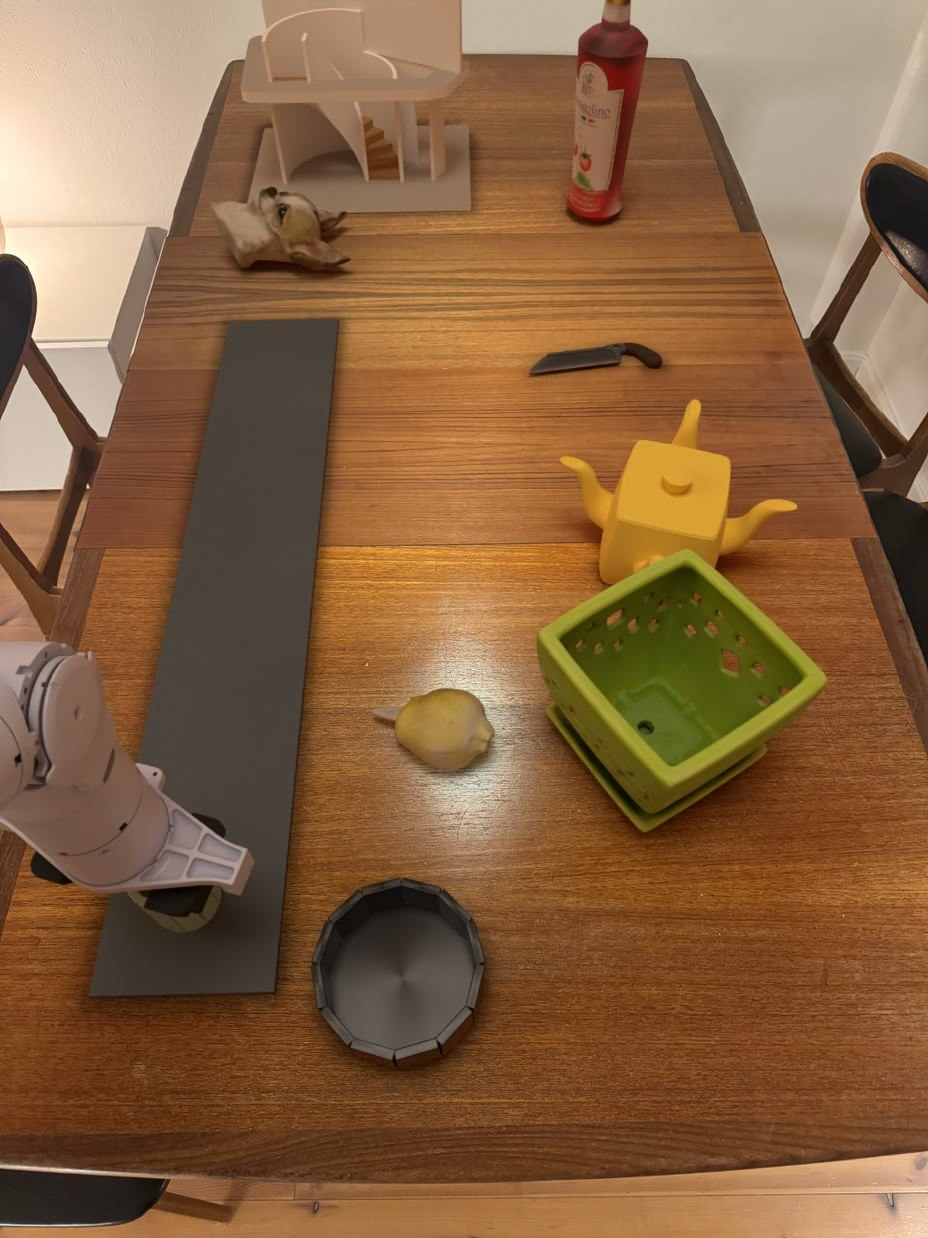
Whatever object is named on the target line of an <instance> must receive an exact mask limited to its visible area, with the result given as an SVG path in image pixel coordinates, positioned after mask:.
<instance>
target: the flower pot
mask: <svg viewBox="0 0 928 1238" xmlns="http://www.w3.org/2000/svg"><path fill="white" fill-rule="evenodd" d="M695 593H697V594H698V595H699V596H700V597H701V598H700V599H701V600H700V601H699V600H698V601H697V600H696V599H695V598H694V595H695ZM682 600H684V601H685V602H682ZM661 601H663V602H662V604H661V605H660V603H661ZM684 604H685V605H684ZM618 612H620V616H619V617H618V618H616V619H614V620H613V621H612V622H610V623H609V624H608V619H609V618H610V617H611V616H613V615H614V614H616V613H618ZM719 613H721V614H722V616H721V615H720V614H719ZM633 620H635V622H634V623H635V624H634V625H633V626H631V627H629V624H630V622H632V621H633ZM654 620H655V621H654ZM653 621H654V623H653V624H652V626H650V624H651V623H652V622H653ZM709 622H711V623H712V624H713V626H714V627H715V628H716V629H717V632H714V631H713V630H712V628H710V626H709V624H708V623H709ZM688 625H689V626H692V628H693V629H694V630H695V632H696V633H694V634H693V633H692V631H691V630H690V628H689V626H688ZM740 638H743V640H745V643H743V642H741V641H740ZM616 643H617V644H616ZM597 645H598V646H597ZM596 646H597V647H596ZM724 651H726V652H729V653H731V654H733V655H735V656H736V657H737V659H738V663H739V672H737V671H734V670H730V669H728V668H726V667H725V661H724V660H725V659H724V658H725V657H724ZM536 653H537V659H538V664H539V665H538V666H539V669H540V672H541V675H542V678H543V682H544V683H545V686H546V688H547V689H548V691H549V694H550V695H551V697H552V699H553V700H554V701H552V702H551V703H550V704H548V705H547V706H546V707H545V714H546V715H547V716H548V718H549V719H550V721H551V722H552V723H553V725H554V726H555V727H556V729H558V731H559V733H560V734H561V735H562V736H563V738H564V739H565V740H566V742H567V743H568V744H569V745H570V747H571V749H572V750H574V752H575V753H576V755H577V756H578V757H579V758H580V760H581V762H582V763H583V764H584V765H585V766H586V768H587V769H588V770H589V771H590V773H591V774H592V776H593V777H595V779H596V780H597V782H598V783H599V784H600V785H601V787H602V788H603V790H604V791H605V792H606V794H608V796H609V797H610V798H611V799H612V801H613V802H614V803H615V804H616V805H617V806H618V808H619V809H620V810H621V811H622V812H623V814H624V815H625V816H626V818H628V819H629V820H630V822H631V823H632V824H633V825H634V826H635V828H636V829H637V830H638V831H639V832H641V833H643V834H644V833H645V834H646V833H648V832H650V831H652V830H654V829H656V828H657V827H659V826H660V825H662V824H664V823H665V822H667V821H669V820H670V819H672V818H674V817H675V816H676V815H678V814H680V813H681V812H683V811H684V810H686V809H687V808H689V807H691V806H693V805H694V804H695V803H697V802H699V801H700V800H701V799H703V798H705V797H706V796H707V795H709V794H711V793H712V792H714V791H715V790H717V789H718V788H719V787H721V786H723V785H724V784H726V783H727V782H728V781H730V780H731V779H733V778H734V777H736V776H738V775H739V774H741V773H742V772H743V771H745V770H747V769H748V768H750V767H751V766H752V765H754V764H755V763H756V762H758V761H759V760H760V759H761V758H763V757H765V755H766V754H767V753H768V747H767V746H766V744H765V743H767V742H768V741H770V740H771V739H772V738H774V737H775V736H776V735H778V734H779V733H780V732H781V731H783V730H784V729H786V728H787V727H788V726H789V725H791V724H792V723H793V722H794V721H796V719H797V718H799V717H800V716H801V715H802V714H803V713H805V712H806V710H807V709H808V708H809V707H810V706H811V705H812V704H813V702H815V700H816V699H817V698H818V697H819V695H820V694H821V693H822V692H823V690H824V689H825V688H826V687H827V684H828V677H827V675H826V674H825V673H824V671H823V670H822V669H821V668H820V667H819V666H818V665H817V664H816V663H815V662H814V661H813V659H811V658H810V657H809V656H808V655H807V653H806V652H804V650H802V649H801V648H800V647H799V646H798V645H797V644H796V643H795V641H793V640H792V639H791V638H790V637H789V636H788V635H787V634H786V633H785V632H784V631H783V630H782V629H781V628H780V627H779V626H778V625H777V624H776V623H775V622H774V621H773V620H771V619H770V617H768V615H767V614H766V613H764V612H763V611H762V610H761V609H760V608H759V607H758V606H757V605H755V604H754V603H753V602H752V601H751V600H750V599H749V598H748V597H746V596H745V594H743V592H741V591H740V590H739V589H738V588H737V587H735V586H734V585H733V584H732V583H731V582H730V581H729V580H728V579H727V578H726V577H725V576H723V574H721V573H720V572H719V571H718V570H716V568H715V569H714V568H713V567H712V566H711V565H709V564H708V563H707V562H706V561H705V560H703V559H702V558H701V557H700V556H698V555H697V554H696V553H695V552H693V551H692V550H690V549H688V548H687V549H683V550H680V551H678V552H676V553H674V554H671V555H669V556H667V557H665V558H664V559H662V560H660V561H658V562H656V563H654V564H652V565H650V566H648V567H646V568H644V569H642V570H640V571H638V572H636V573H634V574H633V575H631V576H629V577H627V578H625V579H623V580H621V581H620V582H618V583H616V584H614V585H610V586H609V587H607V588H606V589H604V590H602V591H601V592H599V593H597V594H595V595H594V596H592V597H590V598H588V599H587V600H585V601H583V602H581V603H580V604H578V605H577V606H575V607H573V608H572V609H570V610H568V611H567V612H565V613H564V614H562V615H561V616H559V617H557V618H556V619H555V618H554V620H552V621H551V622H549V623H548V624H546V625H545V626H543V627H542V628H541V629H540V630H539V631H538V632H537V633H536ZM757 664H759V665H761V667H763V668H764V673H762V672H761V671H760V670H759V669H758V668H757V666H756V665H757ZM783 688H784V689H788V690H790V691H788V692H787V693H786V694H784V693H783ZM764 697H766V698H767V699H768V700H769V701H770V702H769V703H768V702H766V700H765V698H764Z"/></svg>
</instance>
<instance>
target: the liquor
mask: <svg viewBox="0 0 928 1238" xmlns="http://www.w3.org/2000/svg"><path fill="white" fill-rule="evenodd" d="M631 9H632V0H604V3H603V9H602V14H601V15H602V16H601V21H600V22H599V23H595V24H592V25H591V26H590V27H588V29H587V30H586V31H584V32H583V33H582V34H580V36H579V37H578V42H577V62H576V63H577V64H576V80H575V103H574V105H575V106H574V107H575V109H574V135H573V152H572V153H573V154H572V155H573V157H572V170H571V183H570V184H571V185H570V192H569V194H568V195H567V197H566V200H565V201H566V205H567V208H569V210H571V212H572V213H573V214H574V215H575V216H577V218H579V219H580V220H582V221H584V222H588V223H602V222H605V221H607V220H609V219H610V218H613V216H614V215H616V214H617V213H619V212H620V211H621V210H622V208H623V207H624V200H623V198H622V195H621V194H622V188H623V183H624V182H623V181H624V177H625V169H626V163H627V159H628V153H629V148H630V141H631V137H632V131H633V126H634V121H635V116H636V111H637V107H638V102H639V98H640V92H641V86H642V80H643V77H644V69H645V65H646V59H647V55H648V49H649V48H648V47H649V40H648V38H647V37H646V36H645V35H644V33H643V32H642V31H641V30H640V29H639V28H638V27H636V26H635V25H633V24H631Z"/></svg>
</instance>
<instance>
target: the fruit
mask: <svg viewBox="0 0 928 1238" xmlns="http://www.w3.org/2000/svg"><path fill="white" fill-rule="evenodd" d="M372 715H373V716H375V717H378V718H380V719H383V720H388V721H391V722H395V723H394V736H395V739H396V740H397V741H398V742H399V743H400V744H401V745H402V746H404V747H405V748H407V749H408V750H410V751H411V753H413V754H414V755H415V756H417V757H418V758H419V760H421V761H423V762H424V763H425V764H427V765H428V766H430V767H433V768H436V769H440V770H444V771H445V770H448V771H450V770H451V771H452V770H459V769H462V768H464V767H465V766H467V765H468V764H469V763H471V761H472V760H473V759H474V758H475V757H476V756H478V755H480V754H482V753H484V752H486V751H488V749H489V748H490V746H491V742H492V740H493V738H495V736H496V730H495V728H494V726H493V725H492V723H491V721H489V719H488V717H487V715H486V710H485V706H484V704H483V702H482V701H481V700H480V698H478V696H476V695H475V694H473V693H472V692H470V691H468V690H463V689H459V688H453V687H441V688H436V689H433V690H431V691H429V692H428V693H425V694H419V695H415V696H411V697H410V699H409V700H408V701H407V702H406V703H405V705H404V706H403V707H402V708H399V707H395V706H394V707H393V706H386V707H381V708H374V709H373V710H372Z"/></svg>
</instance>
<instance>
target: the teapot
mask: <svg viewBox="0 0 928 1238" xmlns="http://www.w3.org/2000/svg"><path fill="white" fill-rule="evenodd" d="M701 412H702V403H701V401H700V400H699V399H692V400H691V401H689V402H688V404H687V406H686V408H685V411H684V414H683V417H682V421H681V423H680V426H679V428H678V430H677V432H676V434H675V436H674V438H673V440H672V441H671V443H666V442H659V441H653V440H648V439H639V440H637V442H636V443H635V445H634V446H633V448H632V451H631V452H630V455H629V457H628V459H627V462H626V464H625V466H624V468H623V471H622V473H621V475H620V477H619V480H618V482H617V485H616V487H615V490H614V491H613V493H611V492H610V491H608V490H606V489H604V488H603V487H602V486H601V485H600V483H599V481H598V478H597V475H596V472H595V470H594V469H593V468H592V467H591V466H590V464H589V463H587V462H586V461H584V460H582V459H580V458H578V457H574V456H569V455H567V456H566V455H564V456H561V457H559V462H560V463H561V464H562V465H563V466H565V467H566V468H567V469H568V470H570V471H571V472H573V474H574V475H575V476H576V477H577V479H578V482H579V484H580V489H581V495H582V502H583V506H584V509H585V513H586V515H587V516H588V518H589V520H591V522H592V523H594V524H595V526H597V527H599V528H600V529H601V530H602V535H601V541H600V549H599V558H598V571H599V576H600V579H601V581H602V582H603V583H604V584H607V585H610V586H613V585H614V584H616V583H618V582H620V581H621V580H623V579H625V578H627V577H629V576H631V575H633V574H634V573H636V572H638V571H640V570H642V569H644V568H646V567H648V566H650V565H652V564H654V563H656V562H658V561H660V560H662V559H664V558H665V557H667V556H669V555H671V554H674V553H676V552H678V551H680V550H683V549H687V548H688V549H690V550H692V551H693V552H695V553H696V554H697V555H698V556H700V557H701V558H702V559H703V560H705V561H706V562H707V563H708V564H709V565H711V566H712V567H713V568H714V569H715V570H716V566H717V563H718V561H719V558H720V557H719V556H724V555H729V554H732V553H735V552H738V551H739V550H741V549H743V547H744V548H745V546H746V545H747V544H748V543H749V542H750V541H751V540H752V539H753V537H754V536H755V534H757V532H758V530H759V529H760V528H761V526H762V525H763V524H764V523H765V522H766V521H767V520H768V519H770V518H772V517H773V516H775V515H779V514H782V513H783V514H784V513H789V512H793V511H795V510H796V509H798V505H797V503H795V502H793V501H791V500H786V499H780V498H779V499H778V498H777V499H776V498H773V499H767V500H764V501H761V502H759V503H757V504H756V505H755V506H753V507H752V508H751V509H749V511H748V512H747V513H746V514H744V515H742V516H738V517H728V511H729V500H730V487H731V471H732V470H731V469H732V468H731V467H732V465H731V464H732V463H731V460H730V458H729V457H728V456H725V455H722V454H718V453H714V452H709V451H705V450H700V449H698V445H697V444H698V428H699V423H700V417H701ZM694 598H695V599H696V600H697V601H698V602H699V600H700V599H701V597H700V596H699V595H698V594H697V593H695V595H694ZM682 603H685V601H684V600H682Z"/></svg>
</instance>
